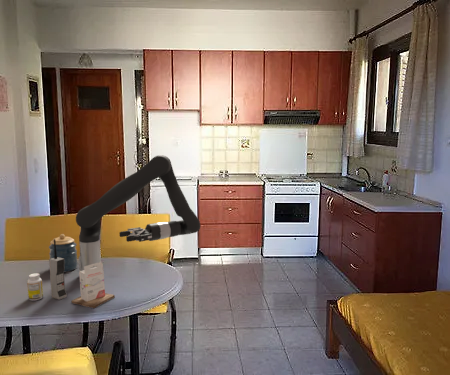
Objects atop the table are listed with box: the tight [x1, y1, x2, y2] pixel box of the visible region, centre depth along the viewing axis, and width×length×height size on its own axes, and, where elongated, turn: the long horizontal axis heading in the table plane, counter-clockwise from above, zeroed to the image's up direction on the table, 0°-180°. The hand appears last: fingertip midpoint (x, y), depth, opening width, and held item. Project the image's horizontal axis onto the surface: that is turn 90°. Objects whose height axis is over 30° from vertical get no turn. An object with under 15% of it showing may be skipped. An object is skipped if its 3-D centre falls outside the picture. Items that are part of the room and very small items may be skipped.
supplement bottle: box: [26, 272, 44, 302], centre depth 178 cm, size 6×6×10 cm
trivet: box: [71, 292, 116, 309], centre depth 177 cm, size 12×12×1 cm
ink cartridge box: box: [78, 261, 106, 301], centre depth 176 cm, size 9×5×15 cm, turn 135°
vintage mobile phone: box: [48, 238, 68, 301], centre depth 178 cm, size 4×5×25 cm
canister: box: [48, 233, 79, 273], centre depth 215 cm, size 13×13×18 cm
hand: (123, 236), depth 184 cm, fingers open, 8 cm apart
